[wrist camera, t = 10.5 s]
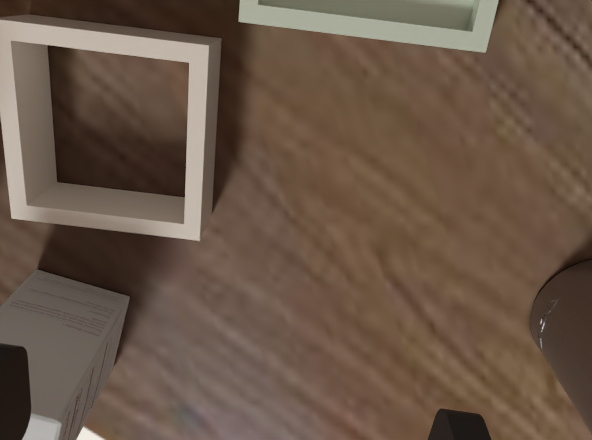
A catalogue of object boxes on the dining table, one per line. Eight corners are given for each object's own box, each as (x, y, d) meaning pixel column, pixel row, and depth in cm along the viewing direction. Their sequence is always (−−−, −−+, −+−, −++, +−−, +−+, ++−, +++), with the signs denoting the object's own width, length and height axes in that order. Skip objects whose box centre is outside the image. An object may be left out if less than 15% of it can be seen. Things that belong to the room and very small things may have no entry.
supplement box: (22, 343, 42) (-89, 480, 30) (36, 265, 39) (-82, 383, 27) (115, 370, 43) (40, 513, 31) (134, 295, 40) (60, 423, 28)
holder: (221, 38, 32) (208, 45, 28) (211, 214, 37) (199, 240, 33) (28, 14, 32) (-11, 18, 28) (43, 194, 37) (11, 218, 33)
